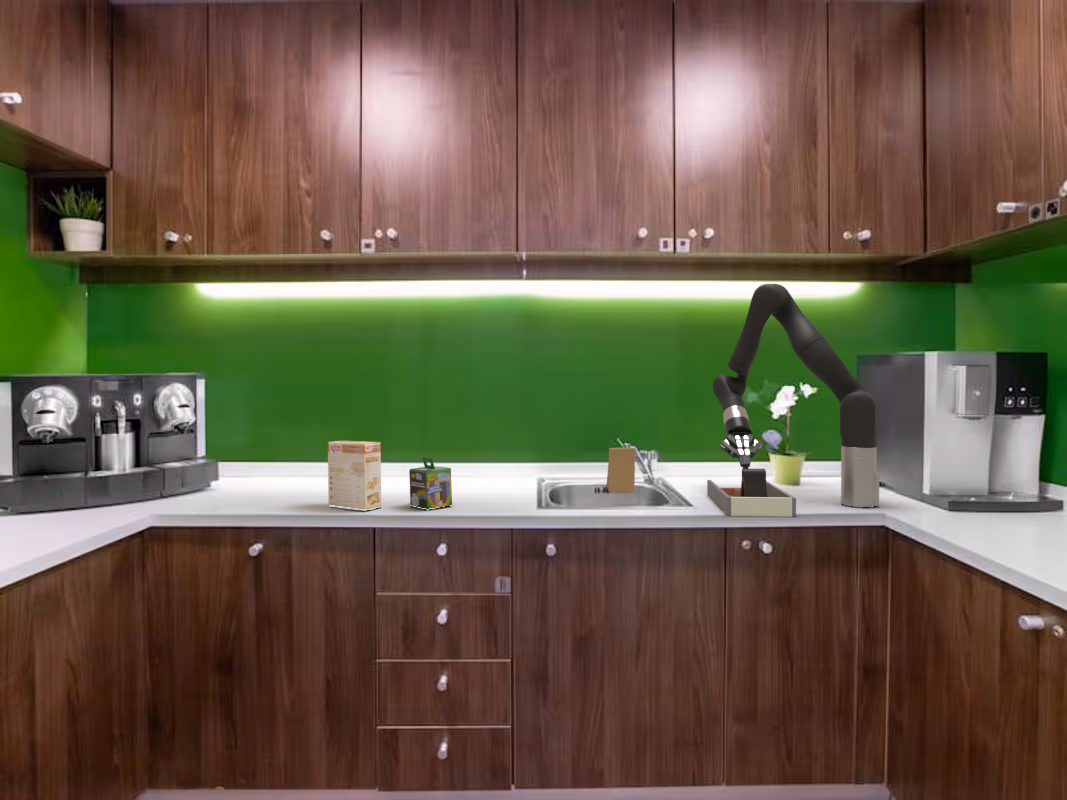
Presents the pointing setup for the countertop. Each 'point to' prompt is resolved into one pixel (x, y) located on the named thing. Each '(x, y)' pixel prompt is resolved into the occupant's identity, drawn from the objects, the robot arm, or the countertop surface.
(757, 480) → the door stopper
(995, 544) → the countertop surface
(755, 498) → the open storage tray
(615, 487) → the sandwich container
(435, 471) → the chalk box
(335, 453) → the coffeecake box
